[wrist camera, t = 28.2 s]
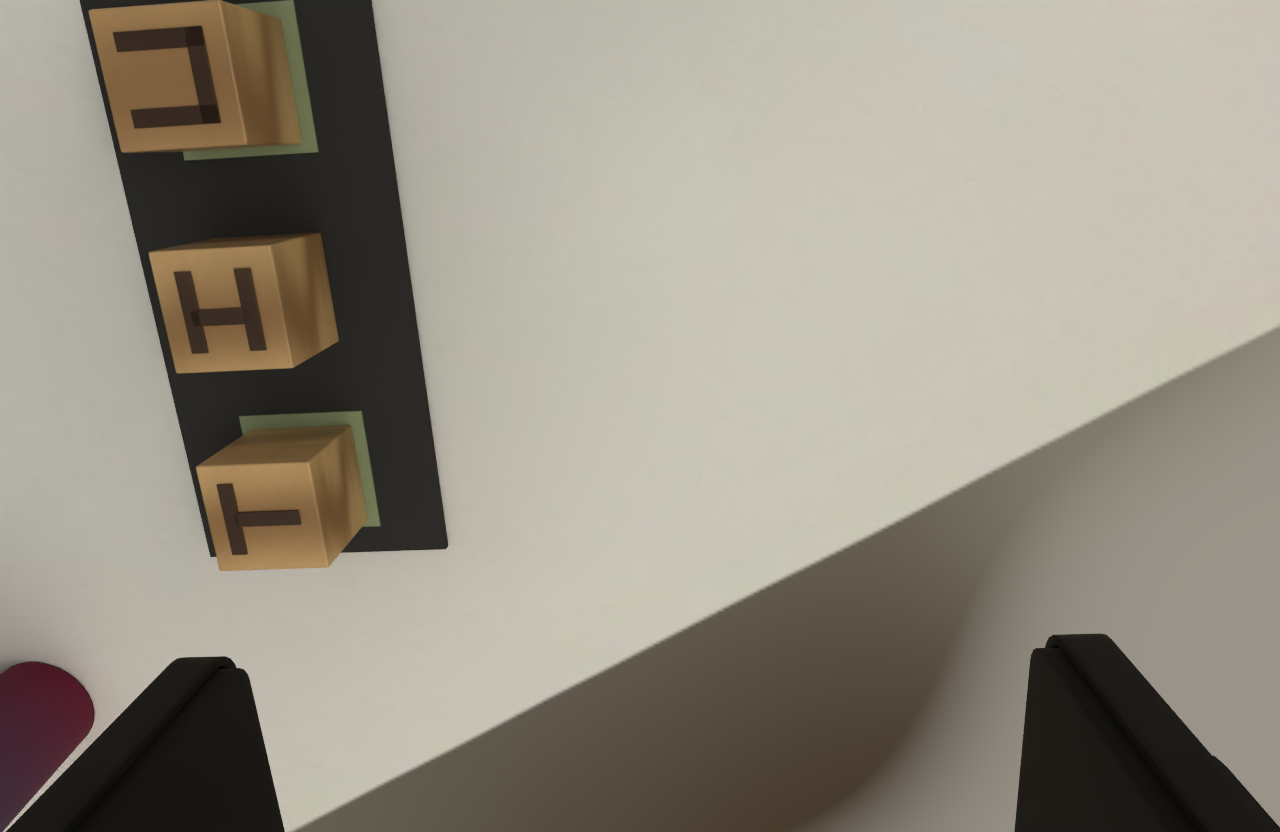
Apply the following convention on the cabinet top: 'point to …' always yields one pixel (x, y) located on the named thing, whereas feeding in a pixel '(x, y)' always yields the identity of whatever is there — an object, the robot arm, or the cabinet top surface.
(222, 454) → the tile
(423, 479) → the word mat
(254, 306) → the letter h block
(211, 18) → the letter u block
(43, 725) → the cup
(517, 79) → the cabinet top surface
